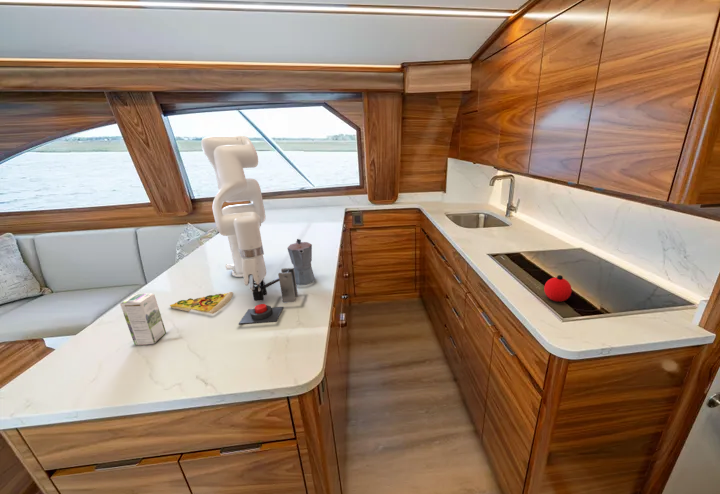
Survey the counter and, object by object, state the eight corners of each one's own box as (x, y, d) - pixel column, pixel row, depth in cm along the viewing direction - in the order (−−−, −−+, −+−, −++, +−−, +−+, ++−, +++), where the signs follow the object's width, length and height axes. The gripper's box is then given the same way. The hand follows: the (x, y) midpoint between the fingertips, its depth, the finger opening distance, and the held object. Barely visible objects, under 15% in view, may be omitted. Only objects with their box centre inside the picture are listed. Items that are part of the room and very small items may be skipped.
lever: (256, 297, 109) (250, 290, 108) (258, 292, 112) (253, 286, 111) (291, 278, 108) (286, 271, 107) (293, 275, 111) (288, 268, 110)
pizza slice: (218, 316, 104) (216, 308, 103) (156, 319, 102) (153, 312, 101) (237, 295, 118) (236, 288, 117) (183, 297, 117) (181, 290, 116)
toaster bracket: (274, 308, 108) (268, 276, 104) (280, 296, 116) (275, 266, 112) (302, 306, 109) (297, 275, 105) (306, 295, 117) (302, 265, 113)
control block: (239, 328, 97) (237, 318, 96) (249, 313, 105) (247, 304, 104) (277, 325, 98) (275, 315, 97) (284, 310, 106) (282, 302, 105)
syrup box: (148, 334, 94) (133, 293, 89) (167, 333, 95) (154, 292, 90) (134, 345, 89) (118, 303, 84) (155, 344, 89) (140, 302, 84)
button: (253, 314, 99) (252, 309, 98) (257, 308, 102) (256, 304, 101) (265, 313, 99) (264, 308, 98) (268, 307, 102) (267, 303, 102)
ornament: (571, 308, 106) (576, 282, 102) (543, 303, 109) (547, 279, 105) (567, 296, 114) (572, 272, 110) (541, 292, 116) (545, 269, 113)
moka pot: (295, 292, 119) (288, 245, 113) (290, 278, 132) (283, 235, 125) (319, 287, 123) (314, 241, 117) (311, 274, 136) (306, 232, 130)
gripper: (248, 244, 112) (257, 288, 118) (230, 260, 96) (241, 310, 103) (269, 243, 113) (277, 287, 119) (255, 259, 97) (264, 308, 103)
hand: (260, 297), depth 111 cm, fingers closed on lever, 3 cm apart
